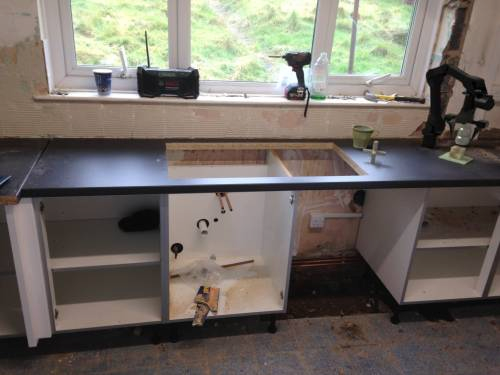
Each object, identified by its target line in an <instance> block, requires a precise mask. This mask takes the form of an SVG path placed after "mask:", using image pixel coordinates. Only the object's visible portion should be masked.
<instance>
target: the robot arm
mask: <svg viewBox="0 0 500 375" xmlns="http://www.w3.org/2000/svg"><path fill="white" fill-rule="evenodd" d="M447 76H450V77H452V78H454V79H455V80H457V81H459V82H460V83H461V84H462V87H463V88H464V89H465V90H464V91H462V92H461V94H462V95H464V100H463V103H462V107H461V108H460V111H459V113H457V114H454V113H451V112H450V113H447V114H444V116H442V95H441V94H442V92H441V91H442V90H441V89H442V86H443V83H444V81H445V77H447ZM425 80H426V83H427V85H428V86H429V104H430V106H429V110H430V114H429V115H430V116H429V117H428V120H427V122H426V126H424V128H422V129H421V135H423V137H422V142H421V144H420V145H419V146H420V147H422V148H423V147H424V148H427V149H435V148H437V147H438V143H439V136H440V137H441V136H442V135H443V133H444V131H446V127H447V125H448V126H449V127H448V128H449V133H450V134H449V135H450V137H451V138H452V137H453V135H454V132H455V127H456V124H459V125H460V124H462V125H465V124H467V123H469V124H472V125H473V126H475V127H473V132H472V135H471V136H470V137H471V138H470V142H472V141H474V139H475V138H476V136H478V134H479V133H480V131H482V130H485V129H487V128H489V126H490V121H489V120H485V119H479V120H476V119H475V120H473V119H474V116H475V114H476V111H477V109H479V110H483V111H487V112H489V111H491V110H492V109H494V107H495V104H496V100H495V99H494V95H492V94H489V91H488V89H487V86H486V80H485V79H484V78H483V77H480V76H475V75H472V74H469V73H467V72H466V71H464V70H463V69H461V68H459V67H458V66H455V65H454V63H443V64H441V65H440V66H436V67H433V68H429V69H428V70H427V71H426V72H425Z"/></svg>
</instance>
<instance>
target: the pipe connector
mask: <svg viewBox="0 0 500 375" xmlns="http://www.w3.org/2000/svg"><path fill="white" fill-rule="evenodd" d="M378 144H379V141H377V140H374V141H373V146H372V149H369V148H365V149H362V153H363V154H364V153H365V154H370V155H371V157H370V163H371V164H375V162H376V156H377V155H378V156H383V157H385V156H386V154H387V152H386V151H383V150H382V151H381V150H378V146H379V145H378Z"/></svg>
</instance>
